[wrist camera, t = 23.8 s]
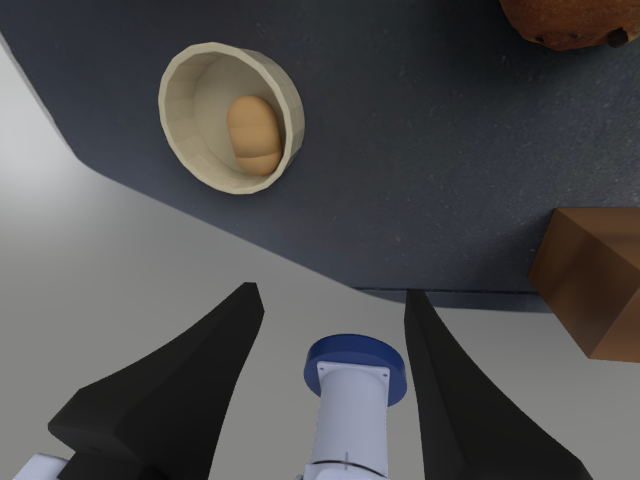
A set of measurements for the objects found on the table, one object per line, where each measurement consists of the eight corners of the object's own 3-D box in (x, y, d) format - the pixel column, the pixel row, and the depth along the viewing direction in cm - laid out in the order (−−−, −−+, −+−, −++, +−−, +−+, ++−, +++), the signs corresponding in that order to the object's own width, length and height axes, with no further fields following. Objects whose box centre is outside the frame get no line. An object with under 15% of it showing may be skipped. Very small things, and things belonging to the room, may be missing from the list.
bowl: (311, 175, 20) (301, 192, 17) (213, 179, 22) (188, 195, 19) (295, 39, 16) (278, 31, 13) (173, 57, 17) (133, 54, 14)
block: (594, 279, 21) (688, 367, 15) (526, 277, 22) (587, 359, 16) (637, 206, 18) (783, 280, 11) (555, 207, 18) (648, 276, 12)
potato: (277, 165, 20) (292, 174, 18) (236, 174, 19) (247, 186, 17) (263, 92, 18) (279, 91, 15) (216, 98, 17) (225, 98, 14)
